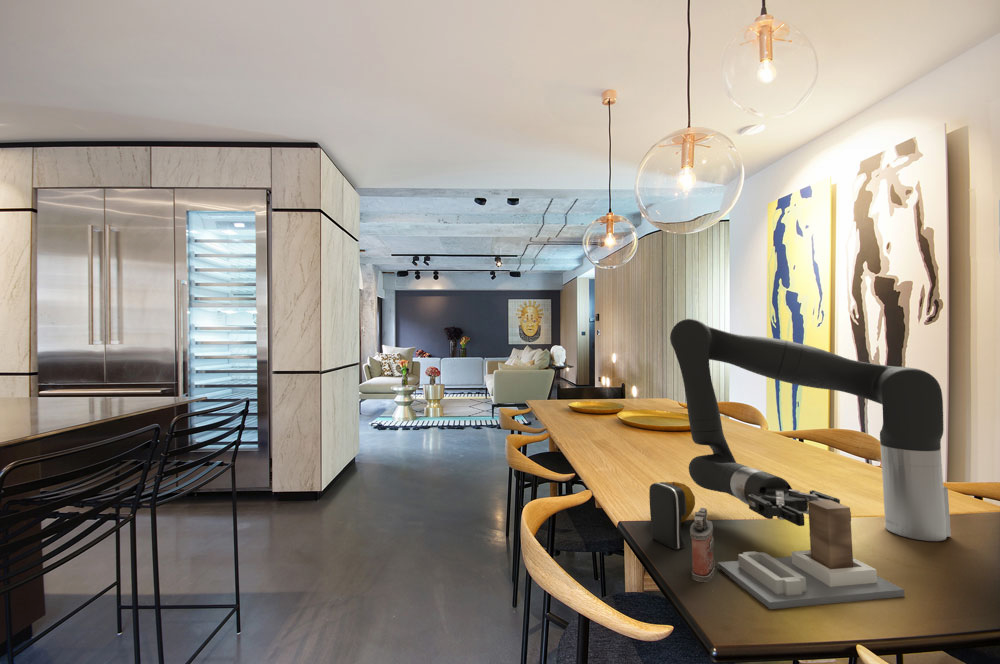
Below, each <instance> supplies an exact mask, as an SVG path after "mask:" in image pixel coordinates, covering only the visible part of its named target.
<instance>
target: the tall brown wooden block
mask: <svg viewBox="0 0 1000 664" xmlns="http://www.w3.org/2000/svg"><path fill="white" fill-rule="evenodd" d="M808 510H809V514H808V526H809V529H808V530H809V541H810V542H809V543H810V545H809V547H810V550H811V559H813V560H815V561H816V562H818V563H820V564H822V565H823V566H825V567H827V568H829V569H841V568H852V567H853V558H854V555H853V552H854V551H853V538H852V537H853V536H852V516H851V517H850V512H851V507H850V506H847V505H844V504H842V503H840V504H839V503H837V502H834V501H831V500H820V501H808Z"/></svg>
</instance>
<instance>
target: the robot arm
mask: <svg viewBox="0 0 1000 664" xmlns="http://www.w3.org/2000/svg"><path fill="white" fill-rule="evenodd" d="M669 336H670V337H669V339H670V341H669V342H670V345H671V346H672V348H673V351H674V354H675V356H676V359H677V363H678V366H679V368H680V372H681V378H682V381H683V387H684V394H685V401H686V408H687V415H688V421H689V429H690V434H691V439H692V441H693V443H695V444H696V445H698V446H709V448H710V449H711V451H712V454H704V455H698V456H695V457H693V458H692V459H691V460H690V462H689V463H688V472H689V476H690V478H691V479H692V481H693V482H694V483H695V484H696V485H697V486H699V487H700V488H703V489H706V490H709V491H714V492H717V493H718V492H720V493H725V494H728V495H730V496H732V497H734V498H736V499H738V500H740V501H741V502H742V503H744V504H745V505H748V509H750V510H751V511H753V512H755V513H756V514H758V515H760V516H762V517H764V518H765V519H768V520H773V519H774V517H776V518H777V519H778V520H782V521H783V520H786V521H787V522H790V523H792V524H794V525H796V526H798V527H804V526H805V515H804V514H806V515H809V510H808V501H820V500H831V501H834V502H837V503H839V504H841V499H840V498H838V497H834V496H831V495H828V494H825V493H823V492H820V491H816V490H809V493H808V492H807V493H806V492H801V491H799V490H798V489H793V488H792V486H791V485H790V483H788V481H787V480H786V479H784V478H782V477H780V476H778V475H775V474H772V473H770V472H766V471H764V470H761V469H759V468H755V467H749V466H747V465H744V464H741V463H737V460H736V458H735V457H734V455H733V453H732V451H731V449H730V447H729V444H728V442H727V440H726V437H725V435H724V430H723V425H722V419H721V413H720V408H719V405H718V400H717V396H716V393H715V389H714V385H713V381H712V375H711V369H710V360H711V361H715V362H721V363H726V364H729V365H732V366H735V367H738V368H739V369H740V368H741V369H743V370H746V371H748V372H751V373H753V374H757V375H759V376H763V377H766V378H769V379H773V380H777V381H779V382H784V383H788V384H791V385H797V386H802V387H807V388H814V389H821V390H829V391H831V390H832V391H838V392H843V393H847V394H850V395H854V396H856V397H859V398H863V399H865V400H869V401H872V402H874V403H878V404H880V405H881V406H882V425H881V426H882V427H881V430H880V431H879V439H880V440H879V443H880V460H881V475H882V490H883V491H882V493H883V494H882V495H883V508H884V509H883V510H884V523H885V526H884V527H885V529H886V530H887V531H888V532H890V533H893V534H895V535H898V536H901V537H904V538H909V539H911V540H912V539H913V540H917V541H925V542H941V541H946V540H947V537H952V535H951V534H952V531H951V530H952V529H951V519H950V517H951V516H950V503H949V490H948V487H946V486H944V477H943V476H944V475H943V464H942V447H941V446H942V445H941V444H942V443H941V440H942V437H943V436H944V401H943V392H942V387H941V385H940V383H939V381H938V380H937V379H936V377H935V376H934V375H932V374H931V373H929V372H927V371H925V370H923V369H919V368H914V367H909V366H908V367H906V366H891V365H884V364H877V363H872V362H871V363H870V362H863V361H859V360H854V359H850V358H847V357H843V356H841V355H838V354H835V353H833V352H830V351H828V350H827V351H826V350H824V349H822V348H818V347H814V346H811V345H808V344H803V343H800V342H795V341H790V340H785V339H780V338H775V337H766V336H758V335H757V336H754V335H741V334H737V333H736V334H735V333H731V332H728V331H724V330H722V329H718V328H715V327H712V326H709V325H706V324H705V323H704V322H703V321H700V320H698V319H696V318H686V319H682V320H680V321H678V322H677V323H676V324H675V325H674V326H673V327H672V329H671V332H670V335H669ZM850 517H851V518H852V513H851V511H850Z"/></svg>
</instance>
